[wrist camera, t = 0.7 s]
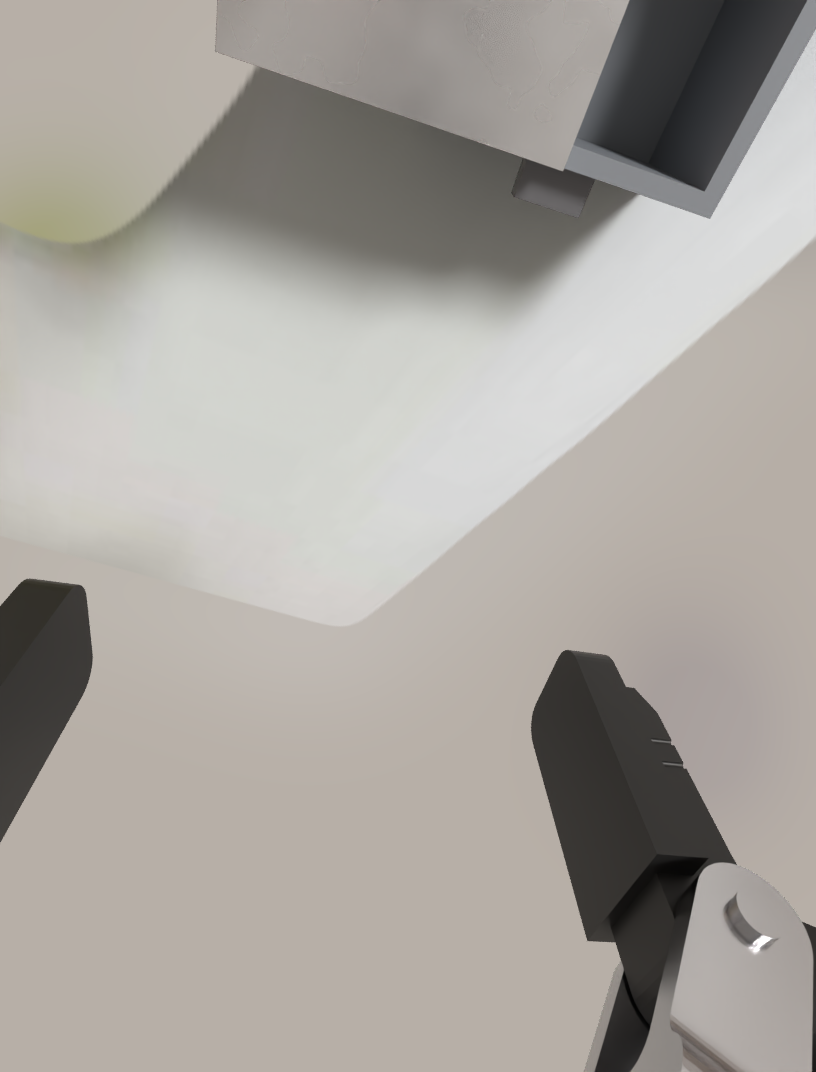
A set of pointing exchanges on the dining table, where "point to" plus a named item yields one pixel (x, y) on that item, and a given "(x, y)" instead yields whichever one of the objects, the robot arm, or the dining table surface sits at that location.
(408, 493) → the dining table surface
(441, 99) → the lid
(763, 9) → the grey box
